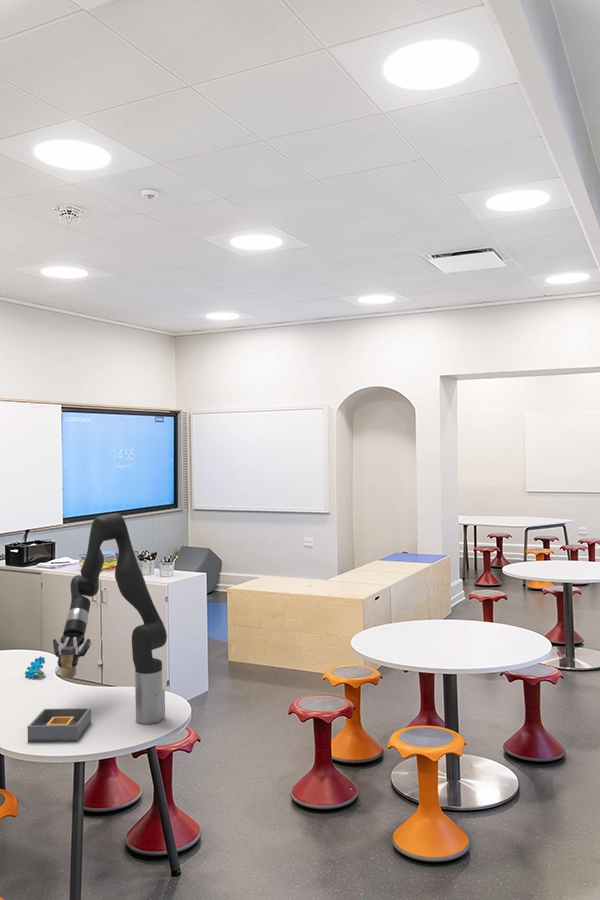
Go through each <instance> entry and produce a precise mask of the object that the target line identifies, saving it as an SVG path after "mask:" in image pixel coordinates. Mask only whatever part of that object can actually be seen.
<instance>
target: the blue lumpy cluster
mask: <svg viewBox="0 0 600 900" xmlns="http://www.w3.org/2000/svg"><path fill="white" fill-rule="evenodd" d="M45 663H46V660H45V657H44V656H39V657H36V658H34V661H31V662H30V666H27V668H26V671H25V672H24V675H25V676H24V677H25V678H27V679H31V678H34V677H36V675H37V674H38V676H41V677H43V678H44V679H46V675H45V672H44V671H43V670H41V669H43V668H44V664H45Z"/></svg>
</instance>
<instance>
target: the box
mask: <svg viewBox="0 0 600 900" xmlns="http://www.w3.org/2000/svg"><path fill="white" fill-rule="evenodd" d="M91 724H92V708H91V707H88V708H87V707H86V708H85V707H83V708H78V707H76V708H71V707H70V708H43V710H42V711H40V713H39V714H38V715H37V716H36V717H35V718H34V719H33V720H32V721H31V722H30V723H29V724H28V725H27V743H48V742H49V743H53V742H54V743H55V742H56V743H58V742H60V743H61V742H62V743H63V742H68V743H69V742H70V743H71V742H79V740H80V738H81V737H82V736H83V734H85V732H86V731H87V729H88V728H89V726H90V725H91Z"/></svg>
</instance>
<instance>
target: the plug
mask: <svg viewBox="0 0 600 900" xmlns="http://www.w3.org/2000/svg"><path fill="white" fill-rule="evenodd" d="M61 648H62V647H61ZM60 651H61V668H60V673H61V675H60V677H61V679H73V678H74V677H75V676H76V675H77V666H75V667H72V661H73V657H74V655H75V647H74V646H66V647H63V648H62V649H60Z"/></svg>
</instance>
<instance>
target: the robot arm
mask: <svg viewBox="0 0 600 900" xmlns="http://www.w3.org/2000/svg"><path fill="white" fill-rule="evenodd" d="M128 530H129V529H128V526H127V523H126V521H125V518H124V517H123V516H122V514H120V513H118V512H116V513H115V512H114V513H109V514H105V515H104V514H103V515H100V516H99V515H98V516H97V517H95V518H94V519H93V521H92V522H91V527H90V533H89V536H88V537H89V538H88V545H87V552H86V554H85V555H86V556H85V559H84V560H83V563H82V566H81V569H80V574H77V575H74V577H72V579H71V581H70V585H69V586H70V595H71V597H70V598H71V599H70V600H71V602H70V607H69V611H68V613H67V615H66V620H65V624H64V629H63V633H62V636H61V638H59V639H56V638H54V639H53V640H52V645H53V652H54V654H55V657H57V666H58V667H59V668H60V669H61V649H62V648H63V647H66V646H74V647H75V655H74V657H73V661H72V667H75V666H76V667H77V666H78V661H79V658H80V657H85V656H86V654H87V652H88V650H89V649H90V647H91V645H92V640H91V639H90V638H85V636H86V630H87V626H88V621H89V613H90V608H91V600H90V599H89V598H92V597H94V596H96V595H97V594H98V593H99V592H98V591H99V589H100V588H99V587H100V575H101V572H102V569H103V566H104V563H105V558H104V557H105V556H104V553H103V551H102V550H101V546H102V544H103V543H104V542H107V541H111V540H115V542H116V545H117V549H118V557H117V561H116V566H115V571H114V578H115V581H116V584H117V586H118V590H119V592H120V594H121V595H122V597H123V598H124V599H125V600H126V601H127V602H128V603H129V604H130V605H131V606H132V607H133V608H134V609H135V610H136V611H137V612H138V614H139V615H140V617H141V620H142V622H143V624H140V625H137V626H136V627H134V629H133V630H132V633H131V651H132V652H131V653H132V654H131V655H132V662H133V665H134V669H135V670H134V671H135V672H134V675H135V677H134V684H135V686H134V688H135V690H134V693H135V698H134V699H135V721H136V722H137V724H138V723H139V724H144V725H149V724H150V725H151V724H159V723H160V722H161V721H162V720H164V718H166V691H165V690H164V689H163V661H162V660H161V659H160V658H156V657H155V658H154V656H153V650H154V651H155V650H156V649H159V648H162V647H164V646H165V645H166V643H167V639H168V636H167V635H168V634H167V630H166V627H165V625H164V622H163V620H162V618H161V616H160V615H159V613H158V611H157V608H156V606H155V604H154V601H153V600H152V597H151V594H150V592H149V589H148V586H147V584H146V581H145V578H144V574H143V573H142V571H141V568H140V565H139V563H138V560H137V557H136V555H135V551H134V548H133V545H132V541H131V538H130V535H129V531H128ZM88 597H89V598H88ZM61 644H62V646H61V649H59V648H60V645H61ZM81 646H82V647H81ZM80 647H81V649H80Z"/></svg>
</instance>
